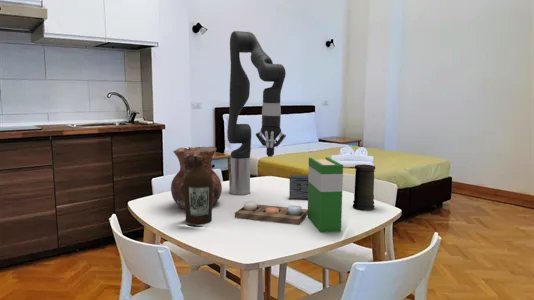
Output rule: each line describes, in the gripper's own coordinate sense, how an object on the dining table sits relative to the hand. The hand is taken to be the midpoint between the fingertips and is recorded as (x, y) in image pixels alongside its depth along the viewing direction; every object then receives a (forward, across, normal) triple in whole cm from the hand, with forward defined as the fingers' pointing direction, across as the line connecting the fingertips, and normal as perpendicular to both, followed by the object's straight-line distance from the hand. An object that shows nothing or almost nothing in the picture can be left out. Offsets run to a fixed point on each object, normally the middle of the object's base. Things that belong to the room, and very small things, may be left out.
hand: (270, 156), depth 172 cm
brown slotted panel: (+22, +6, -14) cm, 26 cm away
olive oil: (+22, -17, -29) cm, 40 cm away
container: (+22, +37, +15) cm, 45 cm away
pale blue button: (+19, +15, -14) cm, 27 cm away
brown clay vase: (+23, -30, -8) cm, 38 cm away
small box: (+23, +8, +21) cm, 32 cm away
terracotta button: (+20, +6, -14) cm, 25 cm away
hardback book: (+21, +26, -16) cm, 38 cm away
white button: (+19, -3, -14) cm, 24 cm away
